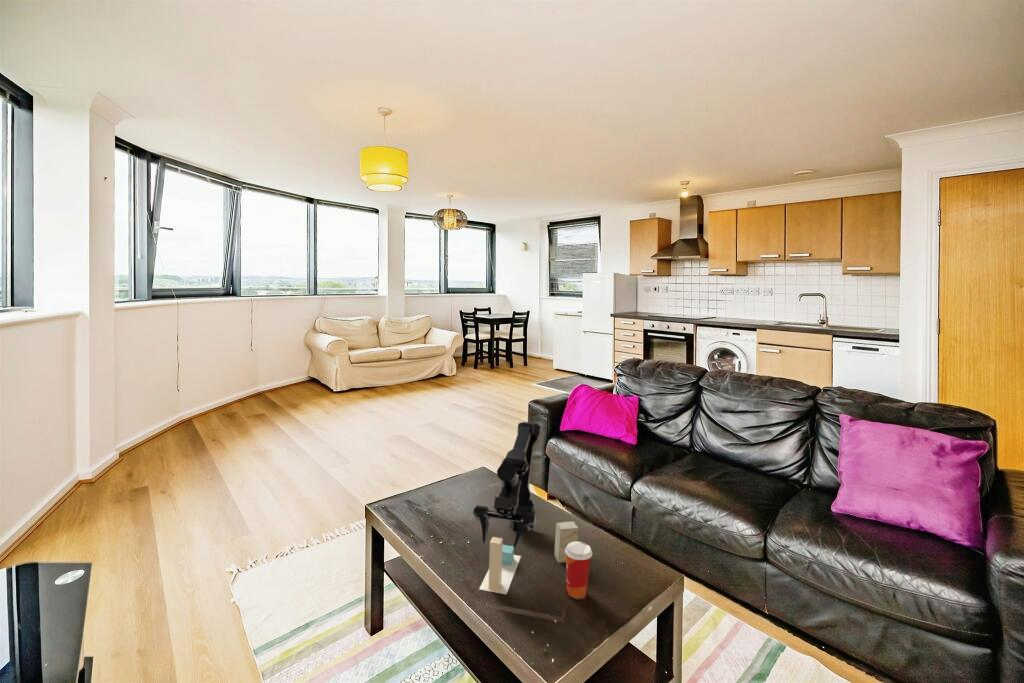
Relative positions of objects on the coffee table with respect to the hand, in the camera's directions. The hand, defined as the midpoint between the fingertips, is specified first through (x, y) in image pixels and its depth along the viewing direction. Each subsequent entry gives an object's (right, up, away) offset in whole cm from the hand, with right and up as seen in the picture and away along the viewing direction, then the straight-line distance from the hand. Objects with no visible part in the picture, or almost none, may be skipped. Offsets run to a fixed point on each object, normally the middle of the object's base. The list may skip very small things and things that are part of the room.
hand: (499, 546), depth 136 cm
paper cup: (+22, -13, -3) cm, 26 cm away
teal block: (+2, -9, +10) cm, 14 cm away
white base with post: (0, -11, +5) cm, 12 cm away
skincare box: (+21, -11, +13) cm, 27 cm away
